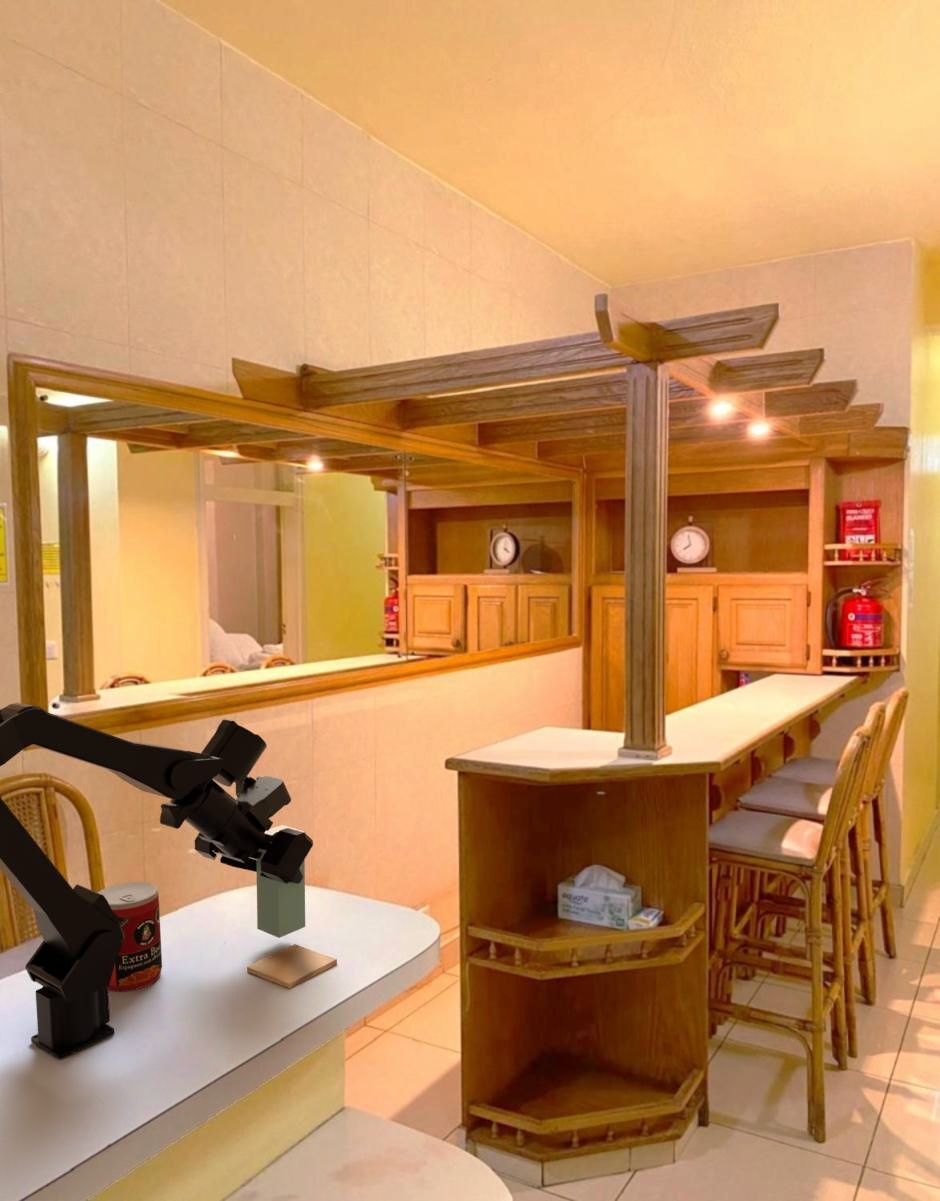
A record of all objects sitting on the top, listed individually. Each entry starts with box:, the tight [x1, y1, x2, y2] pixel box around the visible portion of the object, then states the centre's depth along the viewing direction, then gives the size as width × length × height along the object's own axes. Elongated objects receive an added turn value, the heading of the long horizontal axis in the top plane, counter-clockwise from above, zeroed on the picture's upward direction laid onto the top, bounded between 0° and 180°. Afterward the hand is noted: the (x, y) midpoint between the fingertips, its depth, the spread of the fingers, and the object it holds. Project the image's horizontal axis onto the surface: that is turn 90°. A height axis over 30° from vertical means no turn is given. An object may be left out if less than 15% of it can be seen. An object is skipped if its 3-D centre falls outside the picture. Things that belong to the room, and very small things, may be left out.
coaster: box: [246, 943, 338, 989], centre depth 117 cm, size 8×8×1 cm
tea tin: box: [256, 824, 306, 939], centre depth 123 cm, size 5×5×13 cm
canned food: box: [97, 881, 163, 992], centre depth 115 cm, size 8×8×11 cm
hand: (288, 876), depth 124 cm, fingers closed on tea tin, 5 cm apart
